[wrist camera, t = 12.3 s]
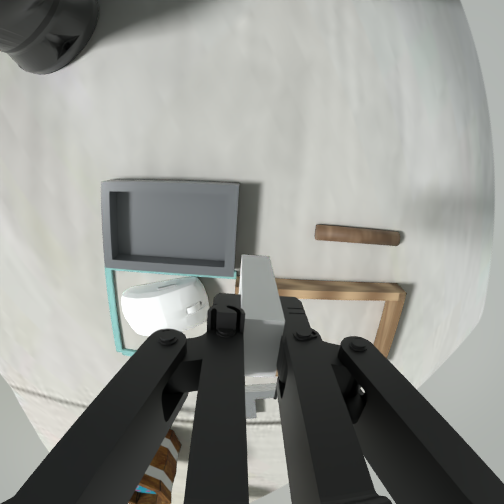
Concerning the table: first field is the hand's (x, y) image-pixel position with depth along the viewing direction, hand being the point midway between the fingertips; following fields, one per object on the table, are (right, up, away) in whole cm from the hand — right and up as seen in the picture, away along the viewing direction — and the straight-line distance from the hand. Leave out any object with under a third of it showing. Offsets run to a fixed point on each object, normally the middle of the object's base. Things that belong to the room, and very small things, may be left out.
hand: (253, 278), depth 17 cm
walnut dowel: (+14, +3, +23) cm, 27 cm away
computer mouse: (-13, -5, +26) cm, 30 cm away
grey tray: (-11, +5, +23) cm, 26 cm away
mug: (-21, -34, +35) cm, 53 cm away
